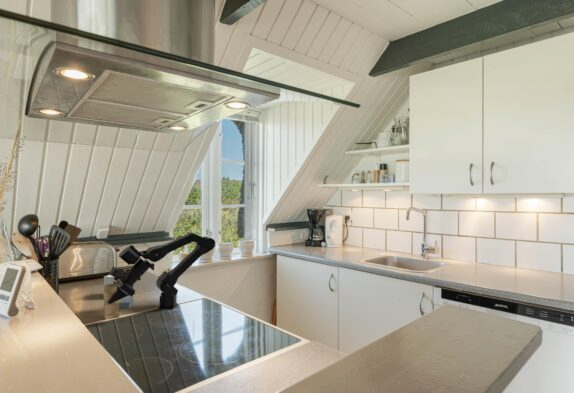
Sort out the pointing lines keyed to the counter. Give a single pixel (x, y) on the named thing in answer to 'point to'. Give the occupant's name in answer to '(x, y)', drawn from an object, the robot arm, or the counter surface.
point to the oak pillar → (112, 308)
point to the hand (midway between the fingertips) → (107, 301)
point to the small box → (108, 280)
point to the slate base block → (125, 302)
